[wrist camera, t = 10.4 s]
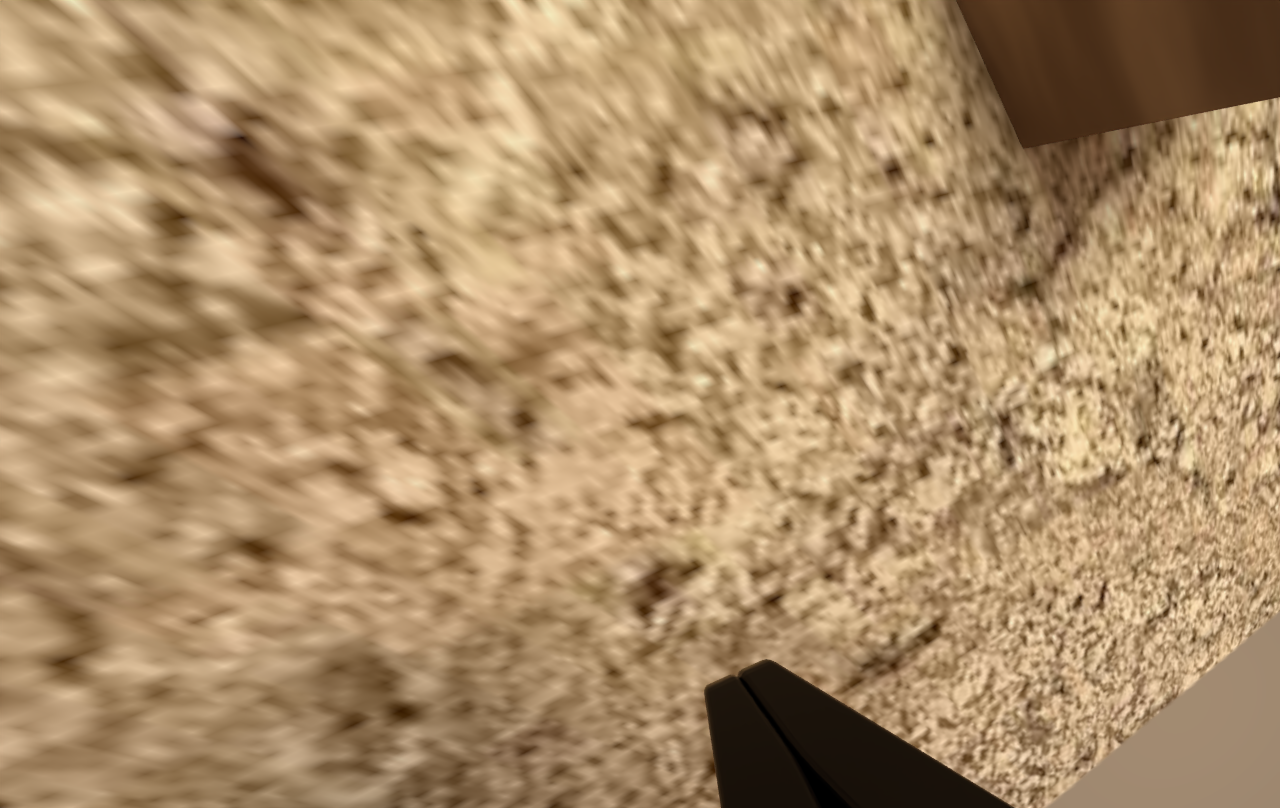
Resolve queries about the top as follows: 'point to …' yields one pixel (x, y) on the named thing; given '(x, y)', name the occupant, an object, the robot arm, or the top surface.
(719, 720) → the robot arm
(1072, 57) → the walnut block
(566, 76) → the top surface
